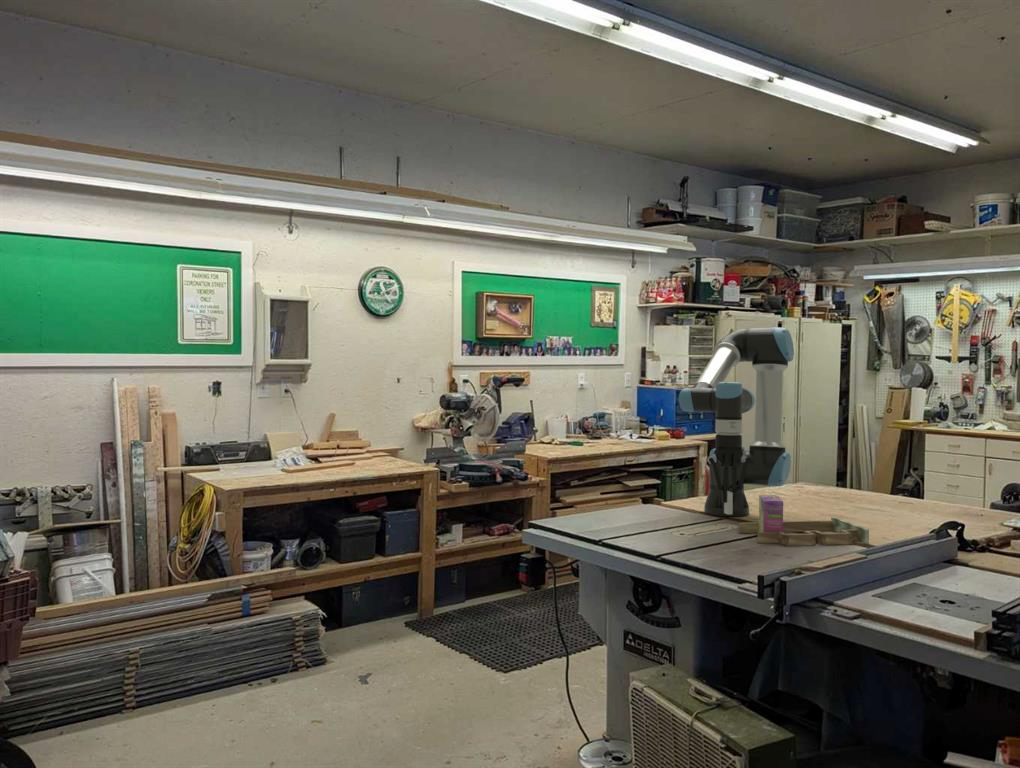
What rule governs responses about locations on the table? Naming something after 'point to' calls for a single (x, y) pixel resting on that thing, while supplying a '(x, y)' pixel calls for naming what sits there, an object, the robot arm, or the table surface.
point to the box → (770, 513)
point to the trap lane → (810, 532)
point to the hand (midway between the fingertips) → (728, 513)
